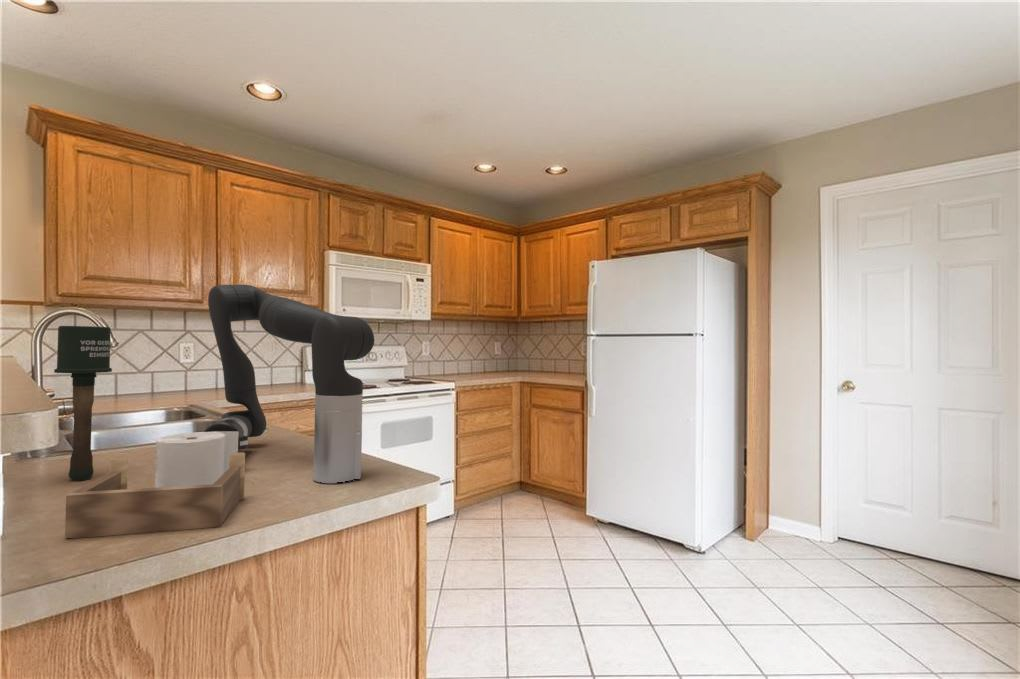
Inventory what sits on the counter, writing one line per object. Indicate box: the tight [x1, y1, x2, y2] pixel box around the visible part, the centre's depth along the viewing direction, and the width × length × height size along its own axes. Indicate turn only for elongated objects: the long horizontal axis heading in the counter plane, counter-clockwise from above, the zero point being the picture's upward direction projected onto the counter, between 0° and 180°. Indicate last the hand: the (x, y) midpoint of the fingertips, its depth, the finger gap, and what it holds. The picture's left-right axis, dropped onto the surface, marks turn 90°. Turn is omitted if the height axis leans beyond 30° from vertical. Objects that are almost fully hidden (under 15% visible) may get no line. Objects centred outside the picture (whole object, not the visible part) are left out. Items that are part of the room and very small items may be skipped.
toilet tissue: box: [154, 431, 239, 488], centre depth 90 cm, size 11×12×10 cm
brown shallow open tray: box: [64, 451, 246, 540], centre depth 77 cm, size 20×14×8 cm
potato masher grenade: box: [54, 325, 113, 482], centre depth 96 cm, size 8×9×30 cm
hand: (202, 452), depth 95 cm, fingers closed
